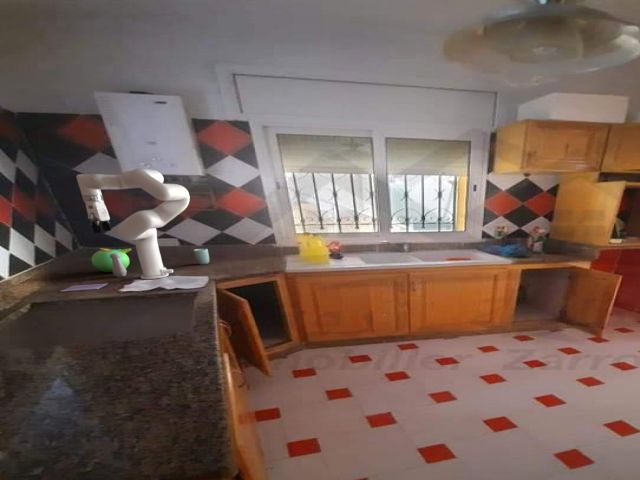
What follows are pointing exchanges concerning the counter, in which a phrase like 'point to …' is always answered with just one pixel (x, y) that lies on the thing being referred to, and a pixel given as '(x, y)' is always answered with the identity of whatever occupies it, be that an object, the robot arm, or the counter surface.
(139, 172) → the robot arm
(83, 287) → the dish towel
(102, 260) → the green round piece
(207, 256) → the cup
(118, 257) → the salt shaker
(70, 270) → the counter surface
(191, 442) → the counter surface
